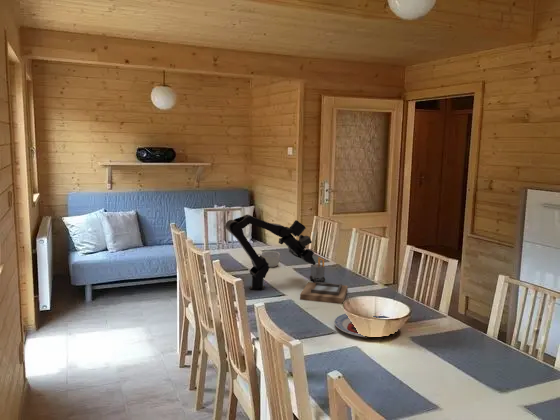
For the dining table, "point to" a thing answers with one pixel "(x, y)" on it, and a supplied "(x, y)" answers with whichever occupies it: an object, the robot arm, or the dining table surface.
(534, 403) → the dining table surface
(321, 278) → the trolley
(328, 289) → the dock
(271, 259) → the teacup
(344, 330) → the ceramic plate
